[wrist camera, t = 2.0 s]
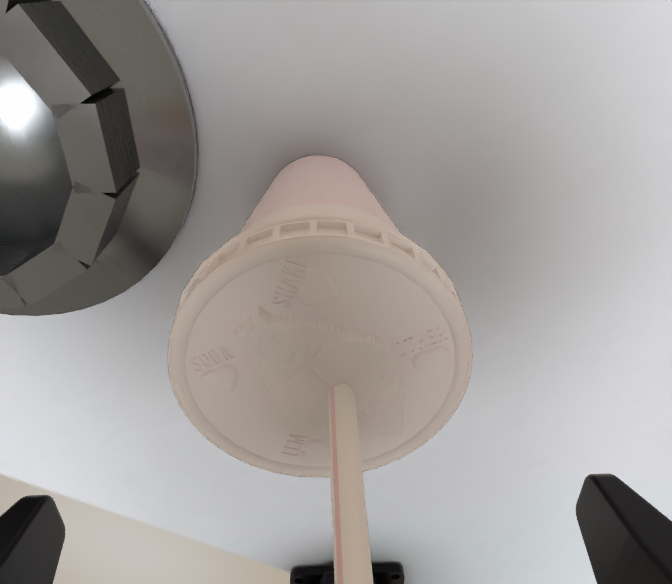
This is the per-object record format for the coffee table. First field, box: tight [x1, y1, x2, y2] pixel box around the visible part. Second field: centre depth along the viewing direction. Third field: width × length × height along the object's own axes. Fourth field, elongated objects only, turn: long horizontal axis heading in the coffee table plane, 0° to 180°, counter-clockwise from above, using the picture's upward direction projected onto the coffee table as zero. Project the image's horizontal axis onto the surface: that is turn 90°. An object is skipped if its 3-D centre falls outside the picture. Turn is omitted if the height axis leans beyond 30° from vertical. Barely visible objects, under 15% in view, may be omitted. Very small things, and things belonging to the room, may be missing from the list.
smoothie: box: [167, 155, 473, 584], centre depth 13 cm, size 6×6×14 cm
